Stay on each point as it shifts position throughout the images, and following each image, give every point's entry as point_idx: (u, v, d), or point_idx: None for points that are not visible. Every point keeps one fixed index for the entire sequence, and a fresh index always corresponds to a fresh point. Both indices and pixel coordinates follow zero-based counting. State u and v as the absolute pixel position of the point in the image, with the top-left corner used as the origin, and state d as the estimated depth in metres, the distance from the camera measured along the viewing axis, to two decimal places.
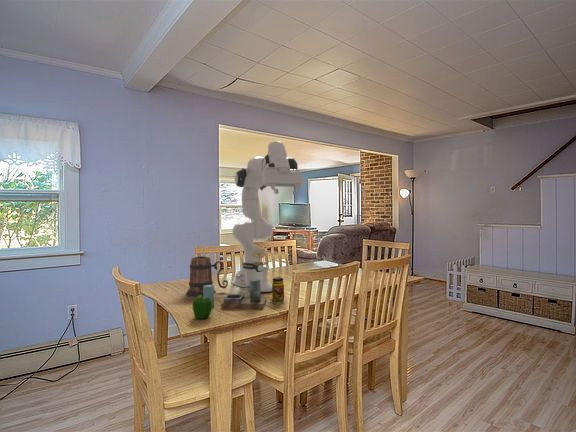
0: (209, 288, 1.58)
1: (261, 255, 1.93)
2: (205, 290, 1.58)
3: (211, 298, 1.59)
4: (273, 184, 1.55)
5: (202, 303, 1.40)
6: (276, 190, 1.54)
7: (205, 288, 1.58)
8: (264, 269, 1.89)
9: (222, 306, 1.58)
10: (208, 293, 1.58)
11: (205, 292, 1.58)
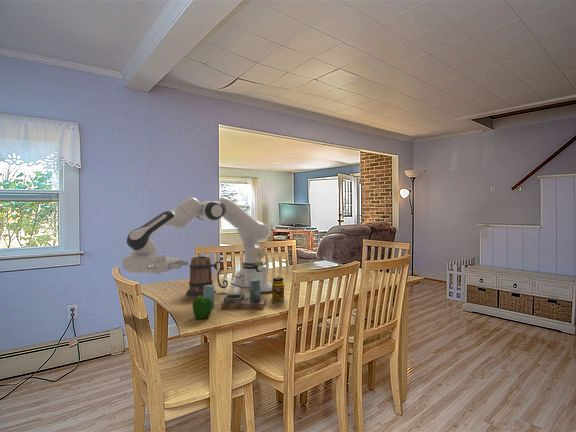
0: (209, 288, 1.58)
1: (261, 255, 1.93)
2: (205, 290, 1.58)
3: (211, 298, 1.59)
4: (180, 264, 1.67)
5: (202, 303, 1.40)
6: None
7: (205, 288, 1.58)
8: (264, 269, 1.89)
9: (222, 306, 1.58)
10: (208, 293, 1.58)
11: (205, 292, 1.58)
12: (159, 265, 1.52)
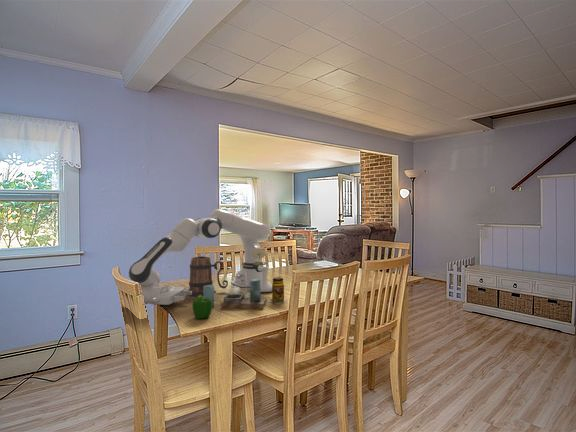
0: (209, 288, 1.58)
1: (261, 255, 1.93)
2: (205, 290, 1.58)
3: (211, 298, 1.59)
4: None
5: (202, 303, 1.40)
6: None
7: (205, 288, 1.58)
8: (264, 269, 1.89)
9: (222, 306, 1.58)
10: (208, 293, 1.58)
11: (205, 292, 1.58)
12: (163, 298, 1.52)
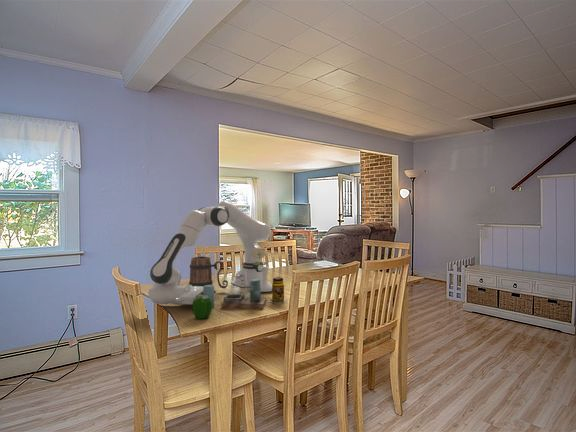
0: (209, 288, 1.58)
1: (261, 255, 1.93)
2: (205, 290, 1.58)
3: (211, 298, 1.59)
4: None
5: (202, 303, 1.40)
6: None
7: (205, 288, 1.58)
8: (264, 269, 1.89)
9: (222, 306, 1.58)
10: (208, 293, 1.58)
11: (205, 292, 1.58)
12: (187, 298, 1.51)
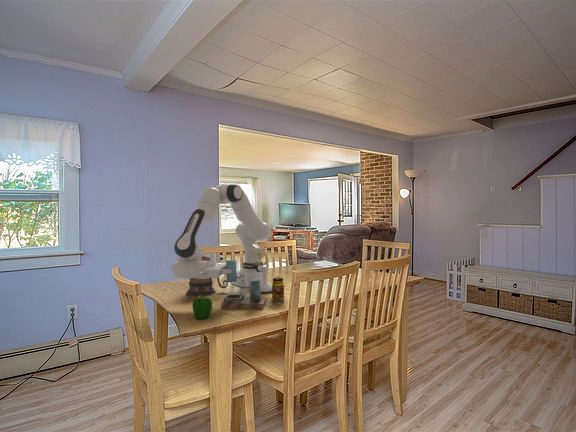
0: (232, 262, 1.60)
1: (261, 255, 1.93)
2: (228, 264, 1.60)
3: (234, 272, 1.60)
4: None
5: (202, 303, 1.40)
6: None
7: (228, 262, 1.60)
8: (264, 269, 1.89)
9: (222, 306, 1.58)
10: (231, 267, 1.60)
11: (228, 266, 1.60)
12: (211, 271, 1.53)
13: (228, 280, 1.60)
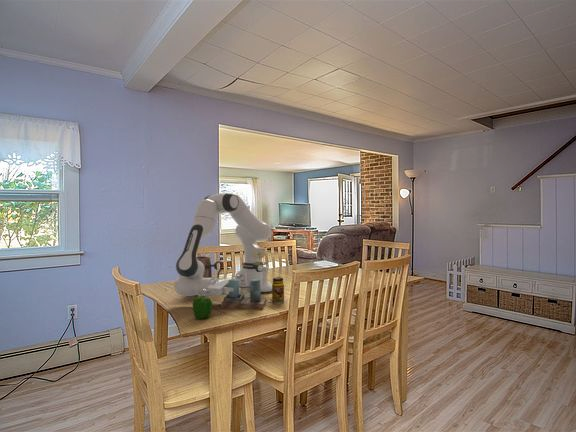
0: (235, 282, 1.60)
1: (261, 255, 1.93)
2: (231, 284, 1.60)
3: (237, 292, 1.61)
4: None
5: (202, 303, 1.40)
6: None
7: (231, 282, 1.60)
8: (264, 269, 1.89)
9: (222, 306, 1.58)
10: (234, 287, 1.60)
11: (231, 286, 1.60)
12: (214, 289, 1.53)
13: None
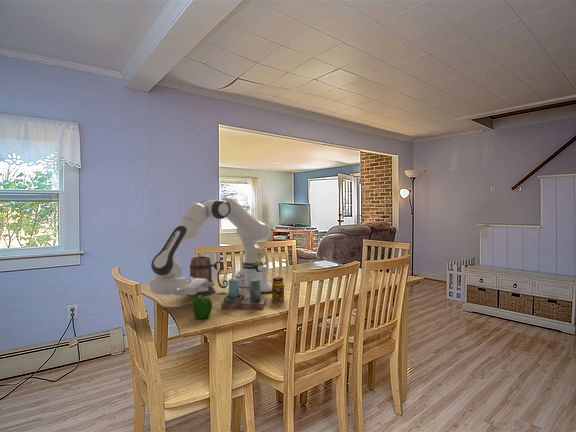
0: (235, 282, 1.60)
1: (261, 255, 1.93)
2: (231, 284, 1.60)
3: (237, 292, 1.61)
4: None
5: (202, 303, 1.40)
6: None
7: (231, 282, 1.60)
8: (264, 269, 1.89)
9: (222, 306, 1.58)
10: (234, 287, 1.60)
11: (231, 286, 1.60)
12: (187, 288, 1.54)
13: None
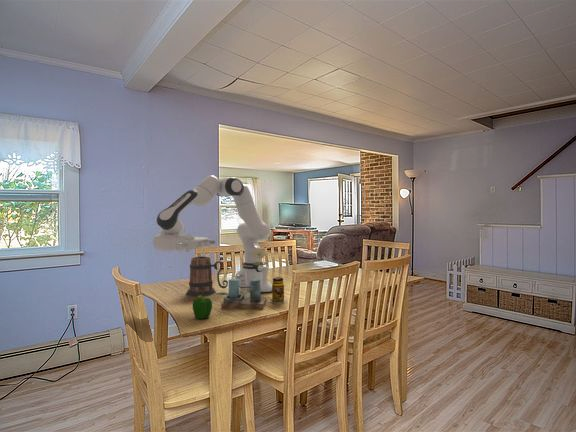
0: (235, 282, 1.60)
1: (261, 255, 1.93)
2: (231, 284, 1.60)
3: (237, 292, 1.61)
4: None
5: (202, 303, 1.40)
6: (213, 243, 1.73)
7: (231, 282, 1.60)
8: (264, 269, 1.89)
9: (222, 306, 1.58)
10: (234, 287, 1.60)
11: (231, 286, 1.60)
12: (190, 242, 1.59)
13: None
